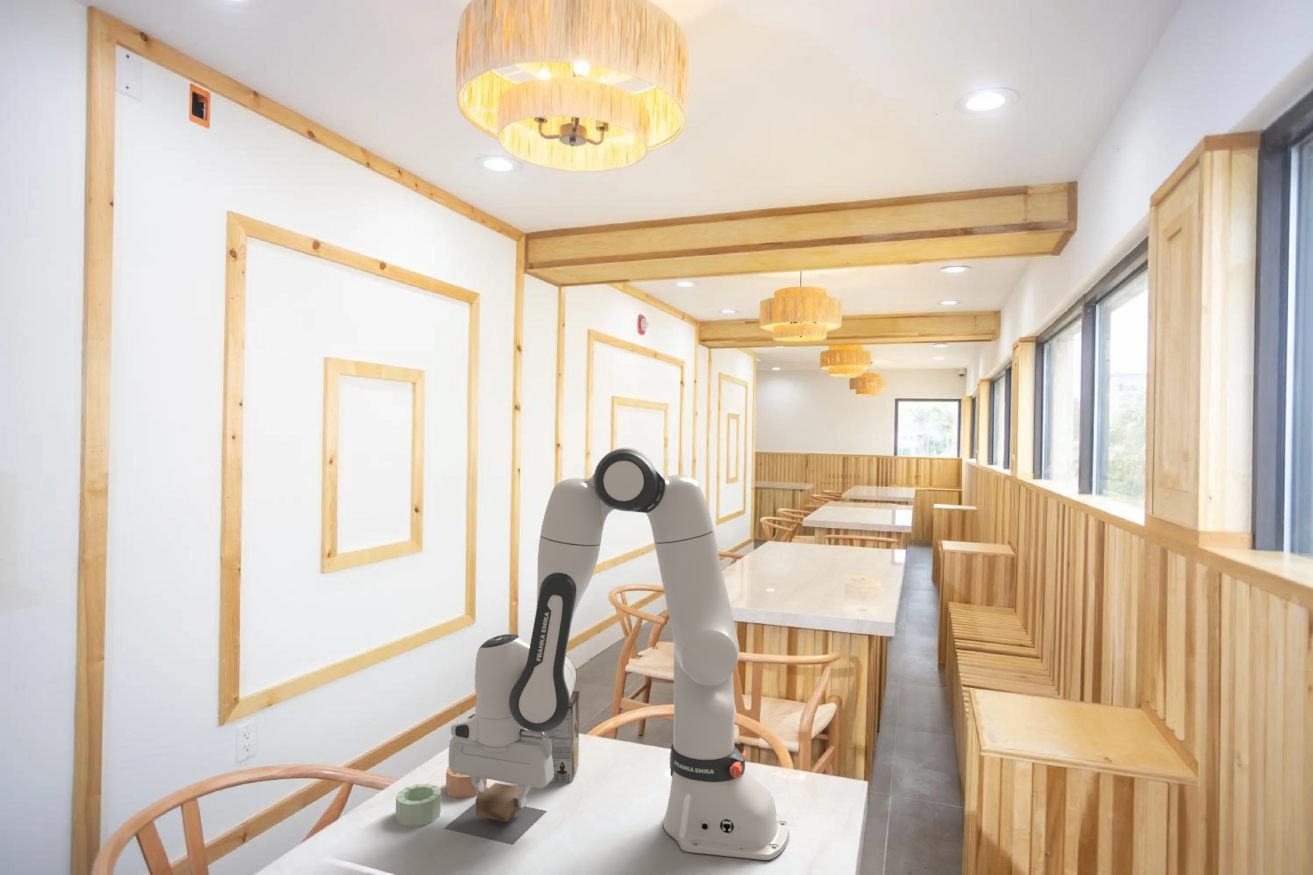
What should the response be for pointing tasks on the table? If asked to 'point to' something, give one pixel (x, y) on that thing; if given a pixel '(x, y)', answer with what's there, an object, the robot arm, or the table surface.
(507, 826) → the mat
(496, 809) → the cardboard box
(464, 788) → the bowl terracotta
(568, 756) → the coffee box
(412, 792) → the bowl sage
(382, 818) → the table surface
